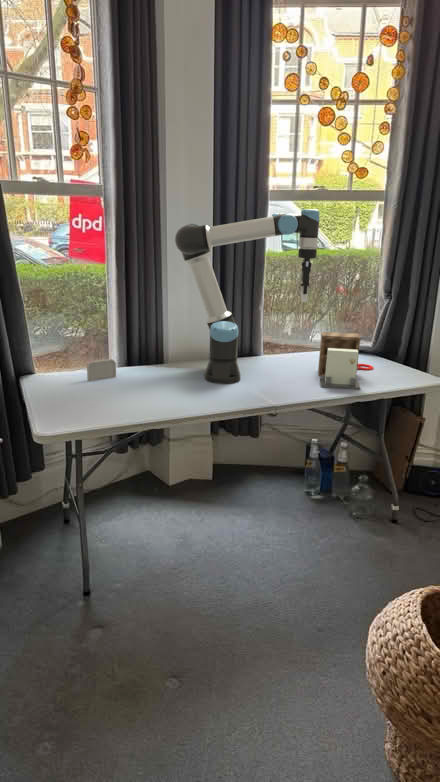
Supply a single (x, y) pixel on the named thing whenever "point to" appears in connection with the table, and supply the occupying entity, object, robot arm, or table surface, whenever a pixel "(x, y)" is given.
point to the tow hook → (364, 365)
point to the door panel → (341, 365)
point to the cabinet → (336, 346)
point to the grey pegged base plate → (353, 384)
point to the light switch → (101, 369)
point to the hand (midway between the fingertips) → (303, 299)
